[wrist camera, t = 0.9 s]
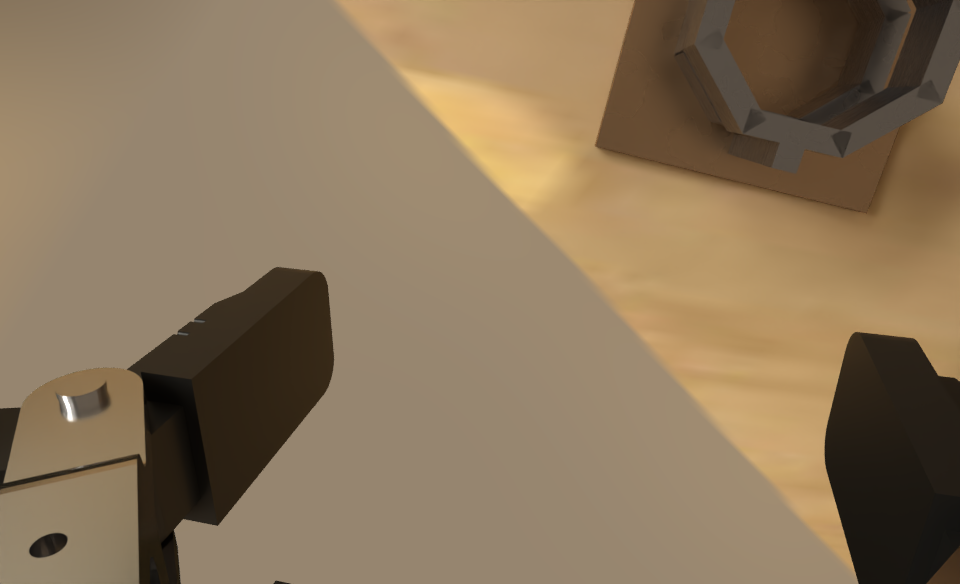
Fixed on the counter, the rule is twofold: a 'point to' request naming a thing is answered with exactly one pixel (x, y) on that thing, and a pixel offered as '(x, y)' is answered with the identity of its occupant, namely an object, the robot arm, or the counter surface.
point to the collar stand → (780, 88)
